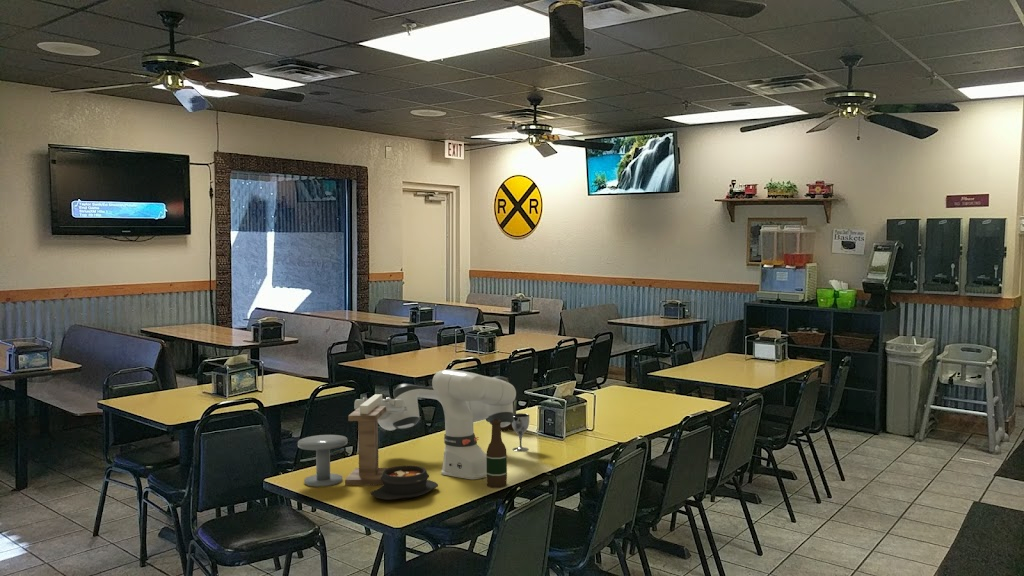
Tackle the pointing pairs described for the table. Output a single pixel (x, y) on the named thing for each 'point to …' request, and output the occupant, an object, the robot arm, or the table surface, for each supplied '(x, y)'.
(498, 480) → the beer bottle
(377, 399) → the bar
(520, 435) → the wine glass
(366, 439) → the walnut stand
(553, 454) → the table surface
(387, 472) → the casserole
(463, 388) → the robot arm
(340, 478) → the cake stand
